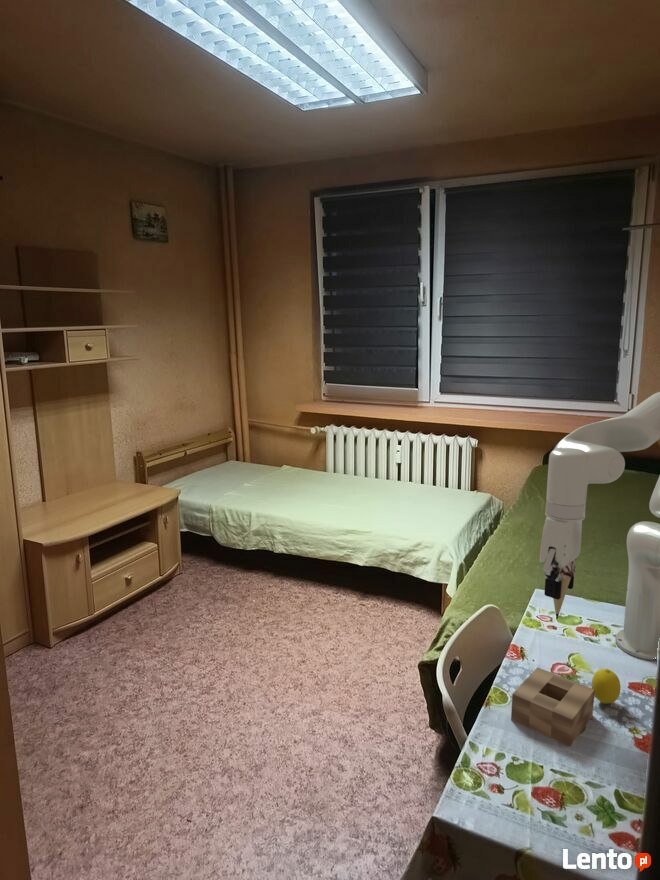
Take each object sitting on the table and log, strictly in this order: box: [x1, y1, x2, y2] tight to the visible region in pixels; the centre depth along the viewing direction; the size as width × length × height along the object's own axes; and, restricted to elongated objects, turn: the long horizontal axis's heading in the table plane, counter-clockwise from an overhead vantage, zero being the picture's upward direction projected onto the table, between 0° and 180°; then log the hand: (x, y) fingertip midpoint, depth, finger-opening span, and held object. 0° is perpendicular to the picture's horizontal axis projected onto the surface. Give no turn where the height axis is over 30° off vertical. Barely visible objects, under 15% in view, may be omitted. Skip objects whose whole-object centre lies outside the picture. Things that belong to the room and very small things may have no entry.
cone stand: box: [510, 666, 595, 748], centre depth 122 cm, size 12×12×6 cm
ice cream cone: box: [552, 562, 576, 620], centre depth 125 cm, size 6×6×15 cm
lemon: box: [591, 668, 621, 705], centre depth 126 cm, size 6×6×8 cm
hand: (558, 591), depth 125 cm, fingers closed on ice cream cone, 5 cm apart
